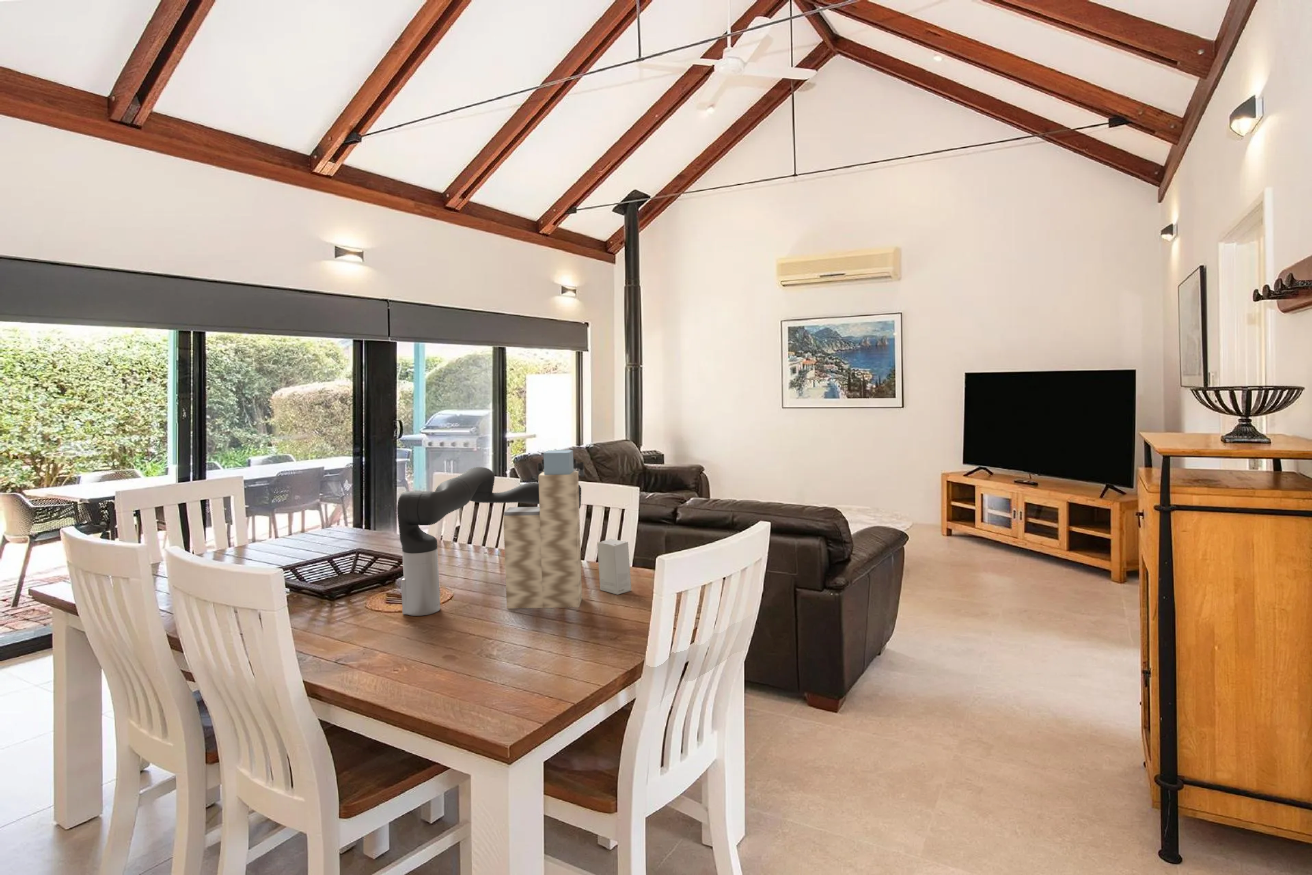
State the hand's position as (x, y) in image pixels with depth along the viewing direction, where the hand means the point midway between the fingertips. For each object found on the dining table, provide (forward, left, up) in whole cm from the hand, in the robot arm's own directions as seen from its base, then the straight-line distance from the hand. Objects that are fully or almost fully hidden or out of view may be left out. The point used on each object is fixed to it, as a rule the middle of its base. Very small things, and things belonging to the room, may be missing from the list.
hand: (558, 460), depth 221 cm
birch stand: (-2, -20, -38) cm, 43 cm away
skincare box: (+17, -8, -38) cm, 43 cm away
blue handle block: (+3, -14, -1) cm, 15 cm away
